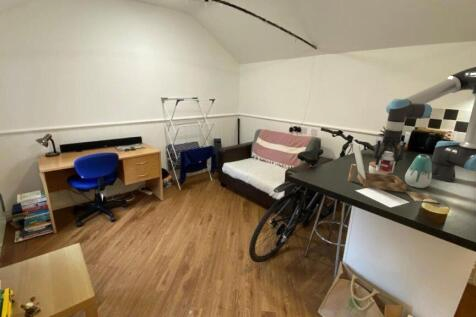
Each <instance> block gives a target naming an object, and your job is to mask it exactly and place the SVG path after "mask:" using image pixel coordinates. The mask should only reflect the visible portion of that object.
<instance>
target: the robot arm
mask: <svg viewBox="0 0 476 317" xmlns="http://www.w3.org/2000/svg"><path fill="white" fill-rule="evenodd" d="M468 90H469V91H472V94H471V95H473V96H474V102H473V105H472V109H471V112H470V117H469V120H468V125H467V127H466V128H467V129H466V132H465V136H464V138H463V139H464V140H463V142H462V141H461V142H460V141H451V140H439V141H437V142H436V144H435V146H434V151H433V153H432V157H431V161H432V179H434V180H436V181H437V180H438V181H442V182H455V180H456V166H457V167H459V168H462V169H465V170H467V171H472V172H476V66H473V67H469V68H466V69H464V70H461V71H459V72H457V73H454V74H452V75H450V76H447V77H446V78H445V79H444V80H443V81H441V82H438V83H436V84H434V85H432V86H430V87H427V88H425V89H423V90H421V91H418V92H416V93H415V94H414V93H413V94H412V95H409V96H408V97H405V98H394V99H392V101H390V102H389V103H388V104H387V105H386V112H387V114H388V117H387V121H386V125H385V130H384V133H383V138H382V139H376V140H375V144H376V145H375V148H374V150H373V154H372V157H373V158H374V159H375V161H374V162H375V164H376V165H377V166H376V171H378V172H379V169H380V164H381V160H380V158H381V157H382V155H383V154H384V152H385V151H387V149H389V148H392V153H394V154H393V156H392V157H393V158H394V161H393V165H392V169H391V172H390V174H393V173H394V170H395V167H397V165H398V163H399V161H403V157H404V153H405V146H406V145H407V142H405V141H402V140H401V138H402V134H403V130H404V126H405V122H406V119H415V120H416V119H419V120H421V119H427V118H429V117H430V116H431V114H432V113H433V112H432V111H433V107H432V106H431V104H428V103H431V102H433V101H435V100H437V99H440V98H442V97H444V96H447V95H449V94H455V93H458V92H460V91H468ZM382 143H383V145H382ZM381 145H382V146H381ZM398 145H399V148H398Z"/></svg>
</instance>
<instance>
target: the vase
mask: <svg viewBox="0 0 476 317" xmlns="http://www.w3.org/2000/svg"><path fill="white" fill-rule="evenodd" d="M431 160H432V157H430V156H429V155H427V154H420V153H419V154H418V155H416V156H415V158H414V160H413V161H412V163H411V165H410V166H409V167H408V169H407V171H406V172H405V175H404V181H405V183H406V184H407V185H408V186H410V187H413V188H416V189H425V188H427V187H428V186H429V185H430V184H431V183H432V179H433V178H432V161H431Z"/></svg>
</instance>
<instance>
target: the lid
mask: <svg viewBox="0 0 476 317" xmlns="http://www.w3.org/2000/svg"><path fill="white" fill-rule="evenodd" d="M351 142H352V148H353V152H354V157H355V162H356V163H355V164H356V168H357V172H359V173H360V174H361V175H362V177H363V178H364V179H366V177H365V172H366V171H365V166H364V161H363V156H362V150H361V145H360V144H359V143H357V142H356V141H355V140H352V141H351Z"/></svg>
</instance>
